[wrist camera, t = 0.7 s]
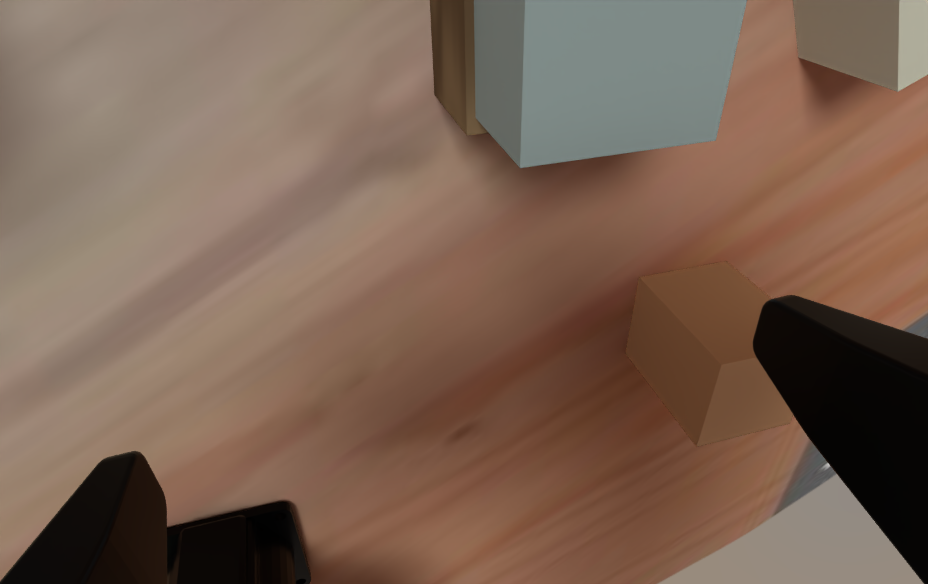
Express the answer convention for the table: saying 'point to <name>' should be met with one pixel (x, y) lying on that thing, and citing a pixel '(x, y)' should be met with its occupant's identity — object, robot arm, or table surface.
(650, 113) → the slate block
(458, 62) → the walnut base block
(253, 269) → the table surface
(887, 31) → the cream cube
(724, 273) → the tan block
